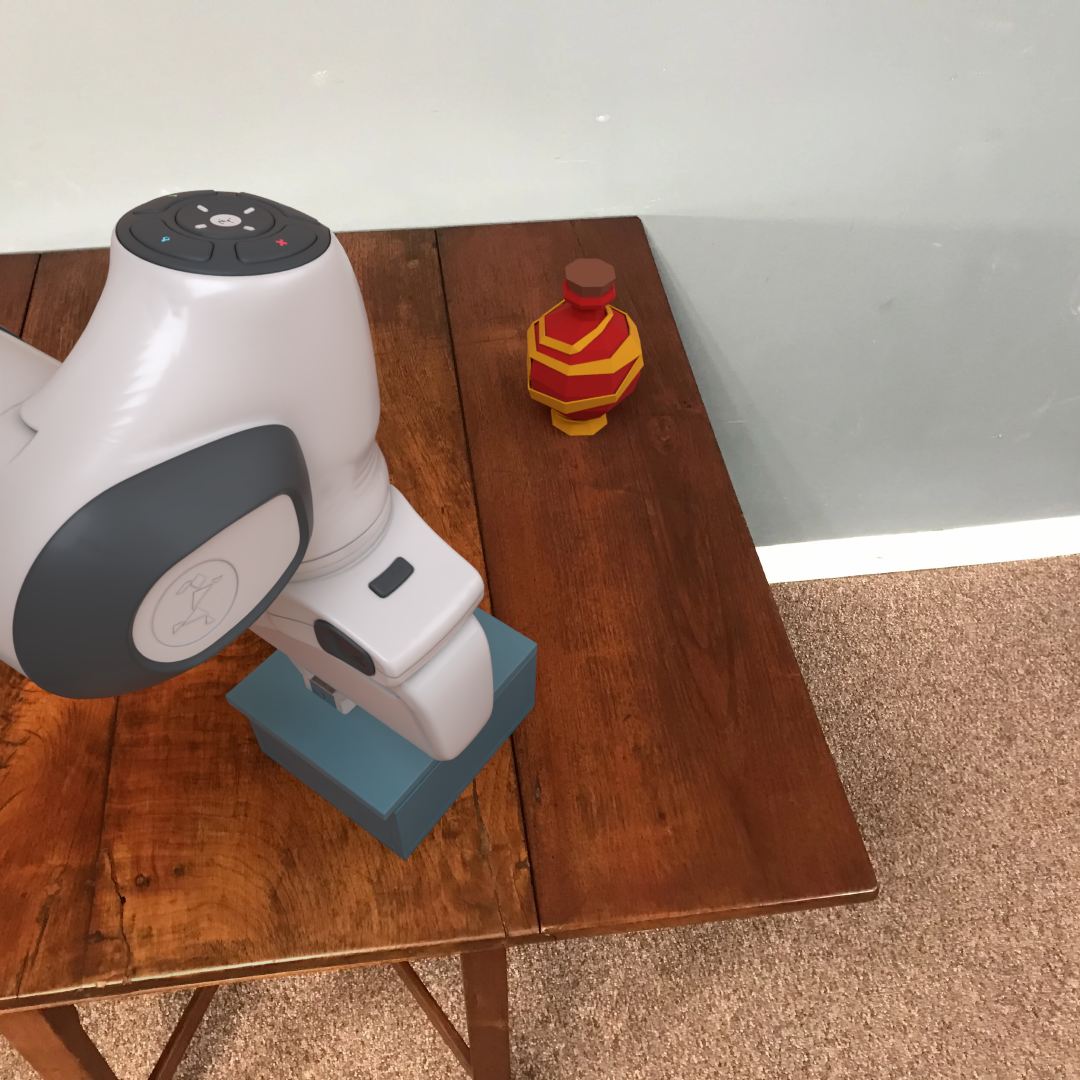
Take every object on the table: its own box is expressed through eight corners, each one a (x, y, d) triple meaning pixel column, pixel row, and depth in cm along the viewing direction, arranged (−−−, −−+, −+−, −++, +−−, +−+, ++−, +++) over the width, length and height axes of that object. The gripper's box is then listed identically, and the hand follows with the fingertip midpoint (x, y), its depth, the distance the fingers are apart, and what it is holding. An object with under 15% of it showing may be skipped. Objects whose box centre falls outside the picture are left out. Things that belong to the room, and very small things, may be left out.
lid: (384, 821, 52) (383, 814, 51) (227, 702, 56) (224, 695, 56) (537, 650, 60) (537, 643, 59) (388, 559, 64) (387, 551, 64)
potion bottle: (619, 468, 80) (637, 324, 69) (505, 439, 82) (505, 294, 71) (649, 393, 87) (671, 250, 76) (544, 367, 89) (549, 224, 78)
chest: (405, 861, 58) (395, 813, 53) (261, 750, 62) (239, 697, 57) (534, 706, 65) (537, 651, 60) (397, 617, 70) (388, 559, 64)
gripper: (96, 474, 45) (170, 639, 56) (421, 692, 38) (436, 836, 48) (198, 406, 49) (250, 574, 59) (514, 594, 41) (510, 748, 52)
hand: (336, 693), depth 54 cm, fingers closed
